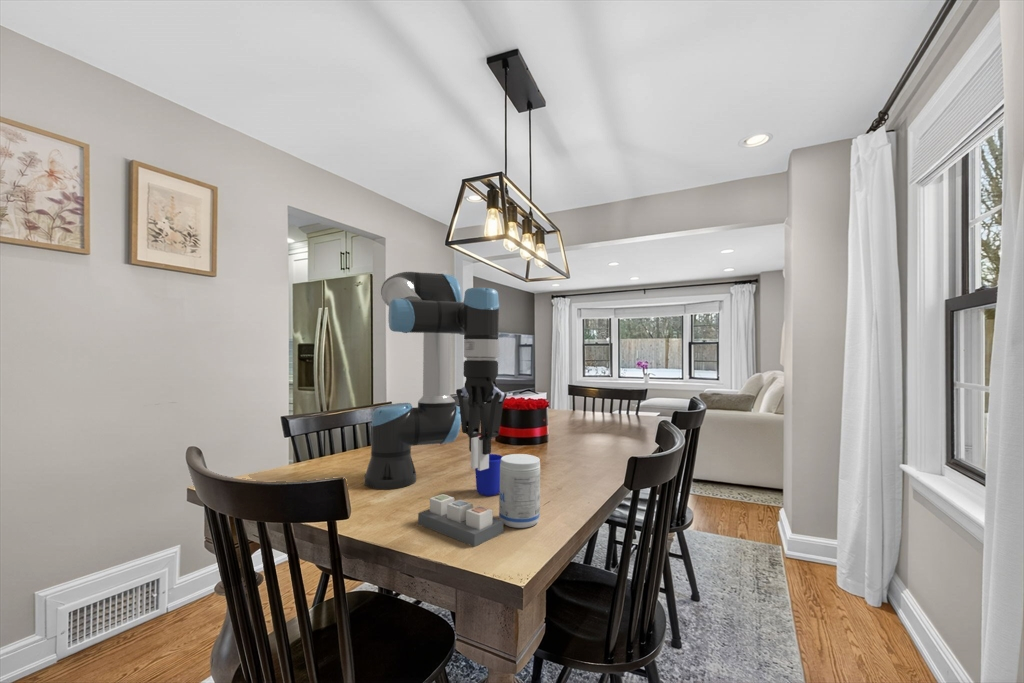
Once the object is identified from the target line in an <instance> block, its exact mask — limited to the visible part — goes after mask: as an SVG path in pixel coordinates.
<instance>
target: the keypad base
mask: <svg viewBox="0 0 1024 683" xmlns="http://www.w3.org/2000/svg"><path fill="white" fill-rule="evenodd" d="M417 518H418V520H417V521H418V522H417V523H418V524H417V525H419V526H422V527H425V528H427V529H430V530H432V531H435V532H437V533H439V534H442V535H444V536H447V537H449V538H452V539H455V540H457V541H458V542H459V541H460V542H462V543H464V544H467V545H469V546H472V547H477V546H479V545H481V544H483V543H485V542H487V541H489V540H491V539H493V538H495V537H497V536H500V535H501V534H503V533H504V524H503V521H501V520H500V519H497V518H496V517H495V518H494V517H492V525H490V526H487V527H485V528H483V529H481V530H478V529H475V528H473V527H470V526H467V525H466V520H465V521H462V522H460V523H459V522H456V521H454V520H451V519H448V518H447V514H445V515H442V516H440V515H437V514H435V513H432V512H430V508H429V509H428V508H427V509H425V510H422V511H420V512H418V514H417Z"/></svg>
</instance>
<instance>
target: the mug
mask: <svg viewBox="0 0 1024 683" xmlns="http://www.w3.org/2000/svg"><path fill="white" fill-rule="evenodd" d="M503 456H504V455H500V454H495V453H490V454H489V468H488V469H484V470H481V471H479V470H478V468H475V469H474V470H475V471H474V472H475V485H476V486H475V488H476V491H477V493H478V494H479V495H480V496H481V495H482V496H485V497H489V496H492V497H493V496H496V495H499V492H500V463H501V458H502V457H503Z"/></svg>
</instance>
